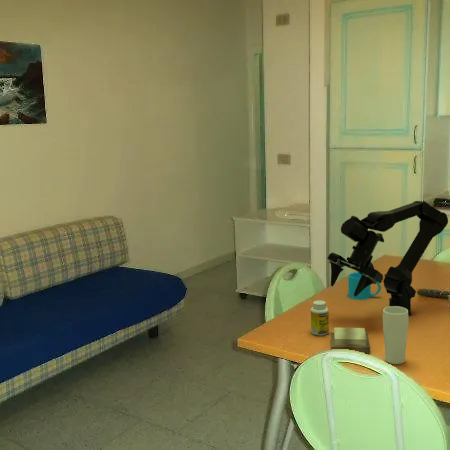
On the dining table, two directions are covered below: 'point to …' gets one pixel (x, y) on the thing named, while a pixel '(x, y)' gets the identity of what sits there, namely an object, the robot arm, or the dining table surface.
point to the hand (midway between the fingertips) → (343, 291)
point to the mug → (352, 284)
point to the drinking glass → (395, 333)
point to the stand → (350, 339)
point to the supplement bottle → (319, 318)
